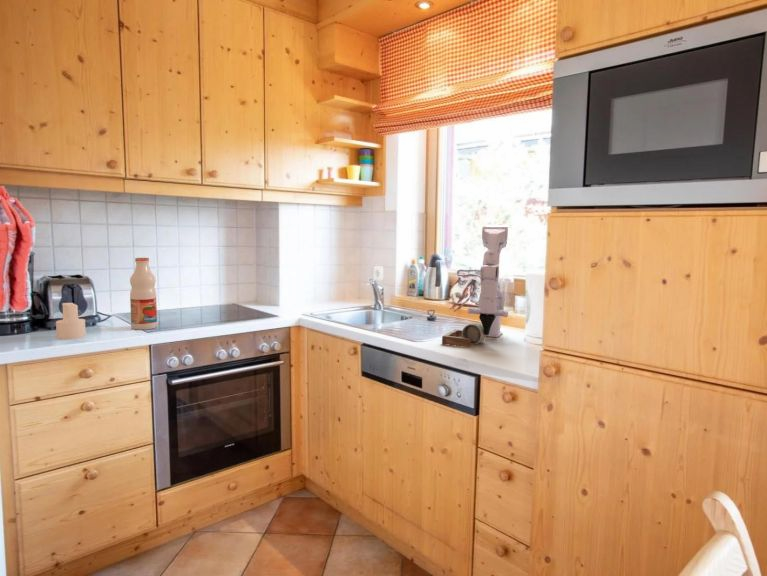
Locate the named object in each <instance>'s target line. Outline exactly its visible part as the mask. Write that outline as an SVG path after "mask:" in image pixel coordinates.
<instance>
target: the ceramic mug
mask: <svg viewBox="0 0 767 576" xmlns="http://www.w3.org/2000/svg"><path fill="white" fill-rule="evenodd" d="M461 330H462V336H459V337H462V338H470V339H471V346H474V345H478V344H479V343H481V342H484V340H485V338H486V337H487V336H486V335H484V329H483V325H482V324H481V323H478V322H475V323H468V324H467V325H465V326H464V327H463V328H462V329H461Z"/></svg>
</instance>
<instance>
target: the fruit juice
mask: <svg viewBox="0 0 767 576" xmlns="http://www.w3.org/2000/svg"><path fill="white" fill-rule="evenodd" d="M149 262H150V258H149V257H135V263H136V264H135V269H134V271H133V273H132V274H131V276H130V278H129V283H130V286H131V289H130V294H129V299H130V300H129V302H130V326H131V329H132V330H135V331H137V330H139V331H140V330H141V331H142V330H152V329H155V328H157V325H158V311H157V291H156V288H155V285H156V277H155V275H154V274H153V273H152V271H151V269H150V266H149Z"/></svg>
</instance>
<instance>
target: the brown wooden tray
mask: <svg viewBox="0 0 767 576" xmlns="http://www.w3.org/2000/svg"><path fill="white" fill-rule="evenodd" d="M462 330H463V329H452V331H449V332H447V333H446V334H444V335H442V336H441V338H442V339H441V345H445V344H449V345H448V346H453V345H456V346H455V347H461V346H463V347H462V348H469V347H470V348H471V347H472V345H471V339H470V338H462V337H459V336H462Z"/></svg>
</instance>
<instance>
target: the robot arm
mask: <svg viewBox="0 0 767 576" xmlns="http://www.w3.org/2000/svg"><path fill="white" fill-rule="evenodd" d="M508 235H509V228H508V225H486V224H484V225H482V228H481V239H482V244H483V247H484V248H486V249H487V250H486V251H485V252H484V254H483V260H482V266H480V269H479V270H480V271H479V278H480V293H479V298H478V308H477V307H468V308H467V315H468V314H472V315H479V316H478V318H479V320H480V324H482V325H483V329H484V335H486V337H492V338H498V337H500V336H501V335H502V334H503V332H502V331H501V324H502V323H501V322H502V317H503V318H509V311H507V310H504V309H505V295H504V293H503V292H502V291H501V290H500V289H499V288H498V286H499V285H498V284H499V278H500V256H501V251H502V249H504V248H506V247H507V245H508Z"/></svg>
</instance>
